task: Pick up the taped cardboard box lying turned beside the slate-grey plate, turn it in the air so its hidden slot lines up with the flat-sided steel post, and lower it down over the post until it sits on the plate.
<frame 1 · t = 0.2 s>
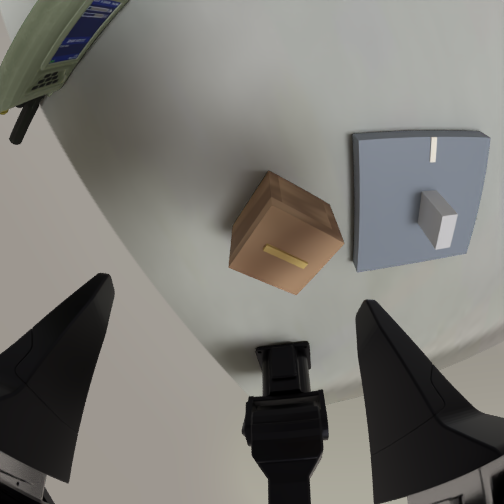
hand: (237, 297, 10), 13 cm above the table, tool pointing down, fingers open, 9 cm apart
hub plate: (419, 197, 22), on the table
handheld radio: (103, 10, 13), on the table
taped cardboard box: (280, 214, 24), on the table
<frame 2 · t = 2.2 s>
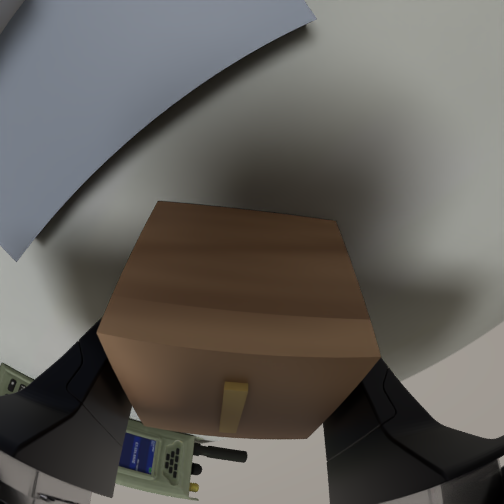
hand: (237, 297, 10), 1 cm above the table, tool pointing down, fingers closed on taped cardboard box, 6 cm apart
hub plate: (22, 19, 5), on the table
handheld radio: (121, 415, 23), on the table
taped cardboard box: (238, 277, 11), on the table, touching gripper
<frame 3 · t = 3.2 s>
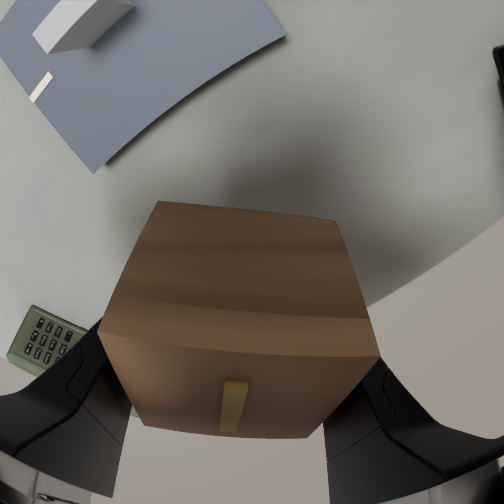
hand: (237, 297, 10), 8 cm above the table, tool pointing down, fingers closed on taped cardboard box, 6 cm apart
hub plate: (116, 19, 10), on the table
handheld radio: (138, 352, 28), on the table
taped cardboard box: (238, 276, 11), point 7 cm above the table, touching gripper
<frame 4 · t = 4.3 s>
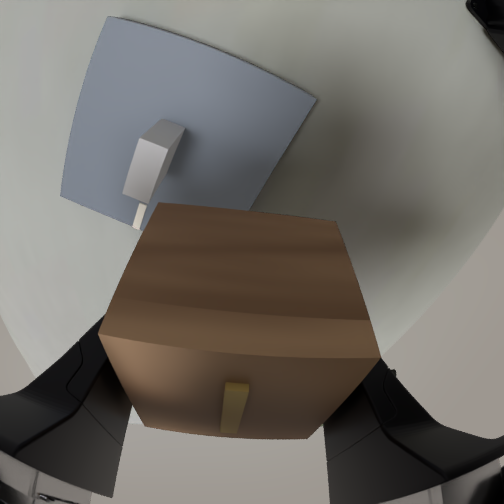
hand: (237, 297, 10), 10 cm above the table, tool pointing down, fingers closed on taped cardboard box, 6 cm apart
hub plate: (170, 138, 17), on the table
taped cardboard box: (239, 277, 11), point 9 cm above the table, touching gripper
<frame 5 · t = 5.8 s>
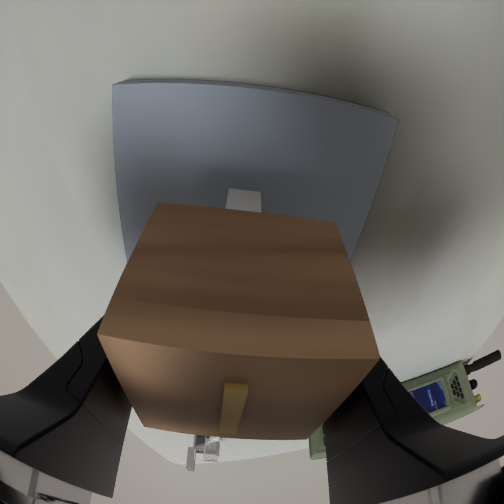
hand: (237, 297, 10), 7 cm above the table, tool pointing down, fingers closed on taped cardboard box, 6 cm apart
hub plate: (242, 203, 15), on the table
handheld radio: (408, 381, 29), on the table
taped cardboard box: (238, 278, 11), point 6 cm above the table, touching gripper
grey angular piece: (224, 422, 37), on the table
when the fingers open (3 cm above the table, at t = 6.9 s): taped cardboard box stays where it is, resting on hub plate.
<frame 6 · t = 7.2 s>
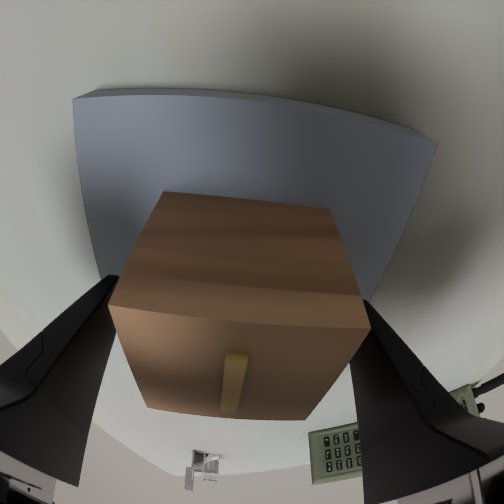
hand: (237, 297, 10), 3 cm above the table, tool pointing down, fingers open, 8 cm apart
hub plate: (240, 240, 13), on the table
handheld radio: (415, 404, 27), on the table
taped cardboard box: (238, 264, 12), point 1 cm above the table, touching hub plate
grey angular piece: (223, 443, 34), on the table
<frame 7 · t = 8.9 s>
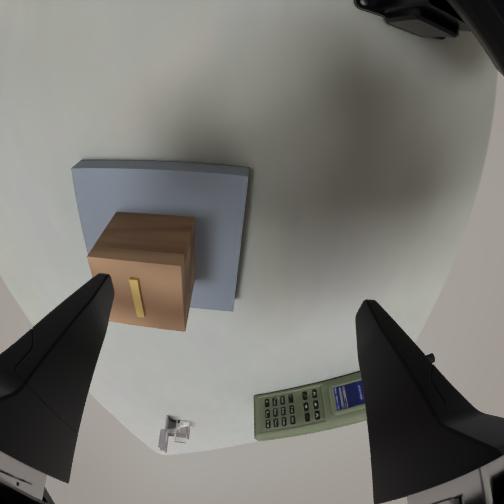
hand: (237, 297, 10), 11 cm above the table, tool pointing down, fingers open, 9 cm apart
hub plate: (161, 235, 22), on the table
handheld radio: (344, 377, 36), on the table
taped cardboard box: (156, 247, 21), point 1 cm above the table, touching hub plate
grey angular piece: (190, 408, 43), on the table
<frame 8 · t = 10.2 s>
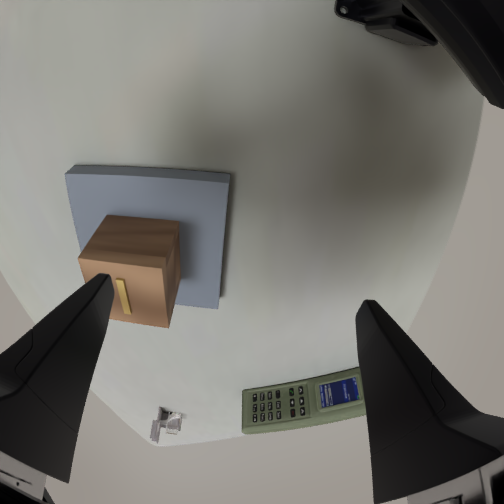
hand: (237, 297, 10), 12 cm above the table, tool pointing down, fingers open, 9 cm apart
hub plate: (149, 236, 23), on the table
handheld radio: (330, 375, 38), on the table
taped cardboard box: (144, 248, 22), point 1 cm above the table, touching hub plate
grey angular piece: (182, 400, 45), on the table
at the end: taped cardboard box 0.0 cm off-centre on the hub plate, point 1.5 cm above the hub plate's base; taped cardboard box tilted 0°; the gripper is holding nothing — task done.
